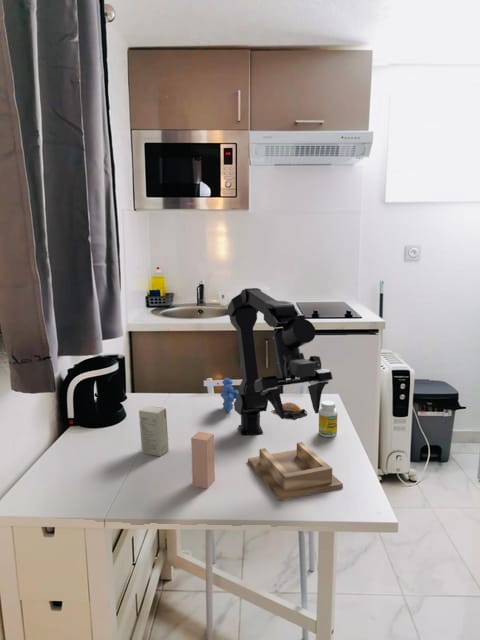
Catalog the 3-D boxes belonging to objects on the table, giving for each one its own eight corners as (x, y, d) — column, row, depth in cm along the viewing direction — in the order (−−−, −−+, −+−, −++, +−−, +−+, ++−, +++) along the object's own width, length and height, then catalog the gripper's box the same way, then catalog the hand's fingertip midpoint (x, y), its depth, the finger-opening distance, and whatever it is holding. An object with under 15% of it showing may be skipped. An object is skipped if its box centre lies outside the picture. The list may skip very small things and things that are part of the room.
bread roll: (269, 413, 164) (269, 403, 163) (286, 407, 169) (286, 397, 168) (292, 422, 156) (293, 411, 155) (310, 415, 161) (310, 405, 160)
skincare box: (169, 450, 136) (167, 408, 133) (160, 457, 132) (158, 413, 130) (149, 446, 138) (147, 404, 136) (140, 452, 134) (138, 409, 132)
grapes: (242, 418, 158) (242, 382, 156) (221, 419, 158) (220, 382, 155) (239, 405, 170) (239, 371, 167) (219, 406, 169) (219, 372, 167)
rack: (247, 461, 129) (247, 445, 128) (303, 451, 134) (303, 436, 133) (280, 500, 110) (280, 482, 109) (342, 487, 116) (343, 469, 115)
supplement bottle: (328, 428, 149) (328, 398, 148) (340, 434, 145) (341, 403, 143) (314, 432, 147) (315, 401, 145) (327, 439, 142) (328, 407, 140)
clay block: (199, 477, 121) (198, 431, 119) (214, 480, 119) (213, 433, 117) (192, 485, 117) (191, 437, 115) (207, 488, 116) (206, 440, 113)
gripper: (266, 348, 111) (278, 419, 107) (337, 341, 118) (351, 407, 114) (248, 358, 121) (259, 423, 118) (315, 351, 128) (327, 411, 124)
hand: (300, 416), depth 118 cm, fingers open, 9 cm apart
